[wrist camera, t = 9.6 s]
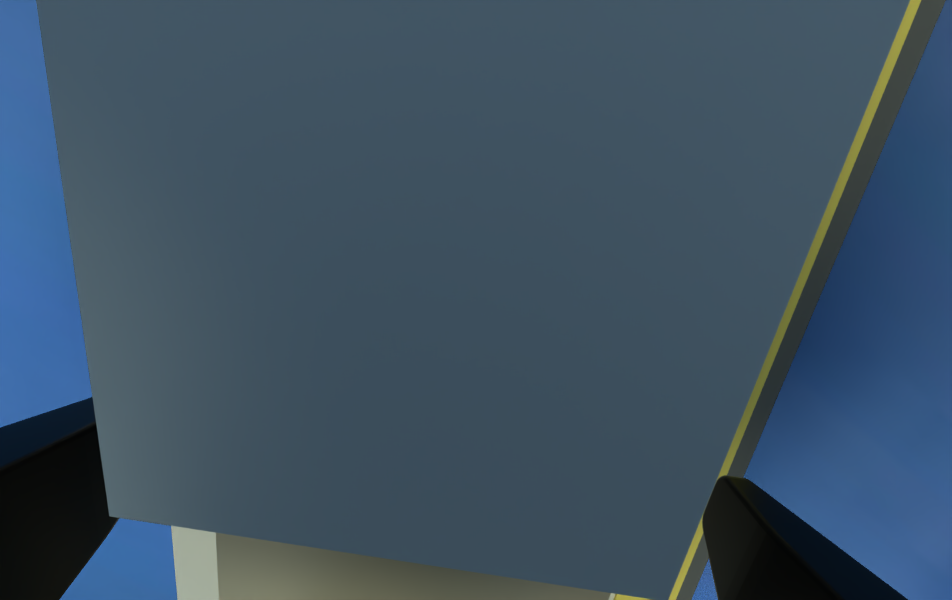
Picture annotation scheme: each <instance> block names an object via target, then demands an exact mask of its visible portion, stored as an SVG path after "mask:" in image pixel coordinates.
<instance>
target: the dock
mask: <svg viewBox="0 0 952 600" xmlns="http://www.w3.org/2000/svg"><path fill="white" fill-rule="evenodd" d="M945 1H946V0H910V2H909V5H908V7H907V9H906V12H905V14H904V17H903V19H902V22H901V24H900V27H899V29H898V32H897V34H896V37H895V39H894V42H893V44H892V47H891V49H890V52H889V54H888V57H887V59H886V62H885V64H884V67H883V69H882V71H881V74H880V76H879V79H878V81H877V84H876V86H875V89H874V91H873V94H872V96H871V99H870V101H869V104H868V106H867V109H866V111H865V114H864V116H863V119H862V121H861V124H860V126H859V128H858V131H857V133H856V136H855V138H854V141H853V143H852V146H851V148H850V151H849V153H848V156H847V158H846V161H845V163H844V166H843V168H842V171H841V173H840V176H839V178H838V181H837V183H836V186H835V188H834V190H833V193H832V195H831V198H830V200H829V203H828V205H827V208H826V210H825V213H824V215H823V218H822V220H821V223H820V225H819V228H818V230H817V233H816V235H815V238H814V240H813V243H812V245H811V247H810V250H809V252H808V255H807V257H806V260H805V262H804V265H803V267H802V270H801V272H800V275H799V277H798V280H797V282H796V285H795V287H794V290H793V292H792V295H791V297H790V300H789V302H788V305H787V307H786V309H785V312H784V314H783V317H782V319H781V322H780V324H779V327H778V329H777V332H776V334H775V337H774V339H773V342H772V344H771V347H770V349H769V352H768V354H767V357H766V359H765V362H764V364H763V366H762V369H761V371H760V374H759V376H758V379H757V381H756V384H755V386H754V389H753V391H752V394H751V396H750V399H749V401H748V404H747V406H746V409H745V411H744V414H743V416H742V419H741V421H740V424H739V426H738V428H737V431H736V433H735V436H734V438H733V441H732V443H731V446H730V448H729V451H728V453H727V456H726V458H725V461H724V463H723V466H722V468H721V471H720V473H719V476H718V478H719V477H721V476H724V475H727V476H734V477H740V478H743V476H744V474H745V472H746V469H747V467H748V465H749V462H750V460H751V458H752V455H753V453H754V451H755V448H756V446H757V443H758V441H759V439H760V436H761V434H762V432H763V429H764V427H765V425H766V422H767V420H768V418H769V415H770V413H771V411H772V408H773V406H774V403H775V401H776V399H777V396H778V394H779V392H780V389H781V387H782V385H783V382H784V380H785V378H786V375H787V373H788V370H789V368H790V366H791V363H792V361H793V359H794V356H795V354H796V352H797V349H798V347H799V345H800V342H801V340H802V338H803V335H804V333H805V330H806V328H807V326H808V323H809V321H810V319H811V316H812V314H813V312H814V309H815V307H816V305H817V302H818V300H819V297H820V295H821V293H822V290H823V288H824V286H825V283H826V281H827V279H828V276H829V274H830V272H831V269H832V267H833V265H834V262H835V260H836V257H837V255H838V253H839V250H840V248H841V246H842V243H843V241H844V239H845V236H846V234H847V232H848V229H849V227H850V224H851V222H852V220H853V217H854V215H855V213H856V210H857V208H858V206H859V203H860V201H861V199H862V196H863V194H864V192H865V189H866V187H867V184H868V182H869V180H870V177H871V175H872V173H873V170H874V168H875V166H876V163H877V161H878V159H879V156H880V154H881V152H882V149H883V147H884V144H885V142H886V140H887V137H888V135H889V133H890V130H891V128H892V126H893V123H894V121H895V119H896V116H897V114H898V111H899V109H900V107H901V104H902V102H903V100H904V97H905V95H906V93H907V90H908V88H909V86H910V83H911V81H912V79H913V76H914V74H915V71H916V69H917V67H918V64H919V62H920V60H921V57H922V55H923V53H924V50H925V48H926V46H927V43H928V41H929V38H930V36H931V34H932V31H933V29H934V27H935V24H936V22H937V20H938V17H939V15H940V13H941V10H942V8H943V6H944V3H945ZM718 478H717V480H718ZM712 491H713V490H712ZM710 496H711V495H710ZM708 501H709V500H708ZM706 506H707V505H706ZM702 518H703V515H702ZM702 518H701V520H700V523H699V525H698V528H697V530H696V533H695V535H694V538H693V540H692V543H691V545H690V547H689V550H688V552H687V555H686V557H685V560H684V562H683V565H682V567H681V570H680V572H679V575H678V577H677V580H676V582H675V585H674V587H673V590H672V592H671V595H670V597H669V600H691V599H692V597H693V594H694V592H695V589H696V587H697V585H698V582H699V580H700V578H701V575H702V573H703V571H704V568H705V566H706V564H707V561H708V559H709V556H708V551H707V547H706V542H705V538H704V533H703V528H702ZM171 530H172V541H173V553H174V564H175V576H176V587H177V599H178V600H219V593H218V571H217V549H216V533H215V532H209V531H202V530H196V529H189V528H183V527H176V526H171ZM609 600H653V599H647V598H640V597H633V596H627V595H620V594H614V593H611V594H610V597H609Z"/></svg>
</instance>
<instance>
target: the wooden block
mask: <svg viewBox="0 0 952 600" xmlns="http://www.w3.org/2000/svg"><path fill="white" fill-rule="evenodd" d="M216 549H217V571H218V593H219V600H609V597H610V594H611V593H607V592H601V591H594V590H588V589H581V588H575V587H568V586H562V585H555V584H549V583H542V582H535V581H529V580H522V579H516V578H509V577H503V576H496V575H490V574H483V573H477V572H470V571H464V570H457V569H451V568H444V567H437V566H431V565H424V564H418V563H411V562H405V561H398V560H392V559H385V558H379V557H372V556H366V555H359V554H353V553H346V552H339V551H333V550H326V549H320V548H313V547H307V546H300V545H294V544H287V543H281V542H274V541H268V540H261V539H255V538H248V537H241V536H235V535H228V534H222V533H216Z"/></svg>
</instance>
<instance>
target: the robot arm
mask: <svg viewBox="0 0 952 600" xmlns="http://www.w3.org/2000/svg"><path fill="white" fill-rule="evenodd" d="M118 519H119V518H117V517H111V516H109V510H108V503H107V496H106V489H105V482H104V475H103V468H102V461H101V454H100V446H99V439H98V432H97V425H96V418H95V411H94V404H93V397H91V398H88V399H85V400H82V401H79V402H76V403H73V404H70V405H67V406H64V407H61V408H58V409H55V410H52V411H49V412H46V413H43V414H40V415H37V416H34V417H31V418H28V419H25V420H22V421H19V422H16V423H13V424H10V425H7V426H4V427H1V428H0V600H59V599H60V598H61V597H62V595H63V594H64V593H65V591H66V590H67V589H68V587H69V586H70V585H71V583H72V582H73V581H74V579H75V578H76V577H77V575H78V574H79V573H80V571H81V570H82V569H83V568H84V566H85V565H86V564H87V562H88V561H89V560H90V558H91V557H92V556H93V554H94V553H95V552H96V550H97V549H98V548H99V546H100V545H101V544H102V542H103V541H104V540H105V538H106V537H107V535H108V534H109V533H110V531H111V530H112V528H113V527H114V525H115V524H116V522H117V521H118ZM702 528H703V533H704V538H705V542H706V547H707V551H708V556H709V560H710V565H711V570H712V574H713V579H714V583H715V588H716V592H717V597H718V600H908V599H907V598H905V597H904V596H903V595H901V594H900V593H899V592H897V591H896V590H895V589H893V588H892V587H891V586H889V585H888V584H887V583H885V582H884V581H883V580H881V579H880V578H879V577H877V576H876V575H875V574H873V573H872V572H871V571H869V570H868V569H867V568H865V567H864V566H863V565H861V564H860V563H859V562H857V561H856V560H855V559H853V558H852V557H851V556H850V555H848V554H847V553H846V552H844V551H843V550H842V549H840V548H839V547H838V546H836V545H835V544H834V543H832V542H831V541H830V540H828V539H827V538H826V537H824V536H823V535H822V534H820V533H819V532H818V531H816V530H815V529H814V528H812V527H811V526H810V525H808V524H807V523H806V522H804V521H803V520H802V519H800V518H799V517H798V516H796V515H795V514H794V513H792V512H791V511H790V510H789V509H787V508H786V507H785V506H783V505H782V504H781V503H779V502H778V501H777V500H775V499H774V498H773V497H771V496H770V495H769V494H767V493H766V492H765V491H763V490H762V489H761V488H759V487H758V486H757V485H755V484H754V483H753V482H751V481H750V480H748V479H745V478H740V477H734V476H727V475H724V476H721V477H719V478H718V480H717V481H716V483H715V486H714V488H713V491H712V493H711V496H710V498H709V501H708V503H707V506H706V508H705V510H704V513H703V518H702Z"/></svg>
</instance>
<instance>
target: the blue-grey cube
mask: <svg viewBox="0 0 952 600" xmlns="http://www.w3.org/2000/svg"><path fill="white" fill-rule="evenodd" d="M36 2H37V9H38V16H39V23H40V30H41V38H42V45H43V52H44V59H45V66H46V73H47V80H48V87H49V94H50V101H51V108H52V115H53V122H54V129H55V136H56V143H57V150H58V157H59V164H60V171H61V179H62V186H63V193H64V200H65V207H66V214H67V221H68V228H69V235H70V242H71V249H72V256H73V263H74V270H75V277H76V284H77V291H78V298H79V305H80V312H81V320H82V327H83V334H84V341H85V348H86V355H87V362H88V369H89V376H90V383H91V390H92V397H93V404H94V411H95V418H96V425H97V432H98V439H99V446H100V454H101V461H102V468H103V475H104V482H105V489H106V496H107V503H108V510H109V516H111V517H117V518H124V519H130V520H137V521H143V522H150V523H157V524H163V525H170V526H176V527H183V528H189V529H196V530H202V531H209V532H215V533H222V534H228V535H235V536H241V537H248V538H255V539H261V540H268V541H274V542H281V543H287V544H294V545H300V546H307V547H313V548H320V549H326V550H333V551H339V552H346V553H353V554H359V555H366V556H372V557H379V558H385V559H392V560H398V561H405V562H411V563H418V564H424V565H431V566H437V567H444V568H451V569H457V570H464V571H470V572H477V573H483V574H490V575H496V576H503V577H509V578H516V579H522V580H529V581H535V582H542V583H549V584H555V585H562V586H568V587H575V588H581V589H588V590H594V591H601V592H607V593H614V594H620V595H627V596H633V597H640V598H647V599H653V600H669V597H670V595H671V592H672V590H673V587H674V585H675V582H676V580H677V577H678V575H679V572H680V570H681V567H682V565H683V562H684V560H685V557H686V555H687V552H688V550H689V547H690V545H691V543H692V540H693V538H694V535H695V533H696V530H697V528H698V525H699V523H700V520H701V518H702V515H703V513H704V510H705V508H706V505H707V503H708V500H709V498H710V495H711V493H712V490H713V488H714V486H715V483H716V481H717V478H718V476H719V473H720V471H721V468H722V466H723V463H724V461H725V458H726V456H727V453H728V451H729V448H730V446H731V443H732V441H733V438H734V436H735V433H736V431H737V428H738V426H739V424H740V421H741V419H742V416H743V414H744V411H745V409H746V406H747V404H748V401H749V399H750V396H751V394H752V391H753V389H754V386H755V384H756V381H757V379H758V376H759V374H760V371H761V369H762V366H763V364H764V362H765V359H766V357H767V354H768V352H769V349H770V347H771V344H772V342H773V339H774V337H775V334H776V332H777V329H778V327H779V324H780V322H781V319H782V317H783V314H784V312H785V309H786V307H787V305H788V302H789V300H790V297H791V295H792V292H793V290H794V287H795V285H796V282H797V280H798V277H799V275H800V272H801V270H802V267H803V265H804V262H805V260H806V257H807V255H808V252H809V250H810V247H811V245H812V243H813V240H814V238H815V235H816V233H817V230H818V228H819V225H820V223H821V220H822V218H823V215H824V213H825V210H826V208H827V205H828V203H829V200H830V198H831V195H832V193H833V190H834V188H835V186H836V183H837V181H838V178H839V176H840V173H841V171H842V168H843V166H844V163H845V161H846V158H847V156H848V153H849V151H850V148H851V146H852V143H853V141H854V138H855V136H856V133H857V131H858V128H859V126H860V124H861V121H862V119H863V116H864V114H865V111H866V109H867V106H868V104H869V101H870V99H871V96H872V94H873V91H874V89H875V86H876V84H877V81H878V79H879V76H880V74H881V71H882V69H883V67H884V64H885V62H886V59H887V57H888V54H889V52H890V49H891V47H892V44H893V42H894V39H895V37H896V34H897V32H898V29H899V27H900V24H901V22H902V19H903V17H904V14H905V12H906V9H907V7H908V5H909V2H910V0H36Z"/></svg>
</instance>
